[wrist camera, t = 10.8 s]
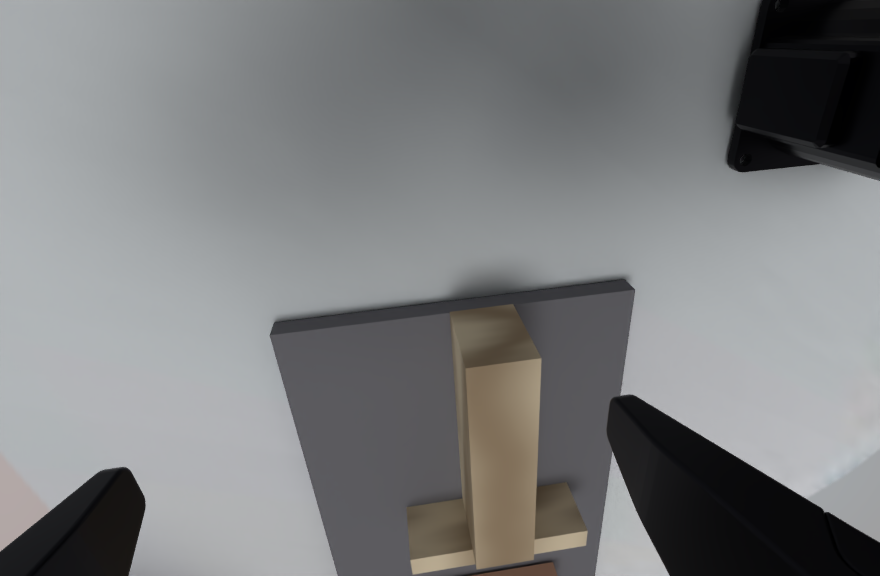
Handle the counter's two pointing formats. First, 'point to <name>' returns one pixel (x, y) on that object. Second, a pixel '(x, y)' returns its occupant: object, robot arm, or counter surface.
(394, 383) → the charcoal mat
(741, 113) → the robot arm
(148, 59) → the counter surface
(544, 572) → the terracotta tile
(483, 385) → the beech scraper
